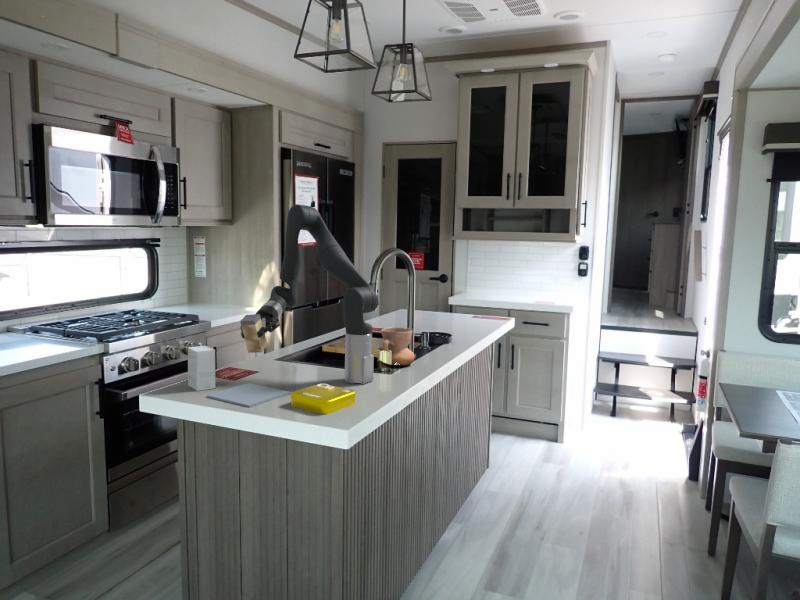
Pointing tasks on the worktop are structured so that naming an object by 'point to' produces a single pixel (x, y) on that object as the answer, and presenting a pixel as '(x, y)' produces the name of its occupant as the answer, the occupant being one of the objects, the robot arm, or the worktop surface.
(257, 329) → the wood block
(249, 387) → the grey mat
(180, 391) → the worktop surface
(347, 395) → the element tile
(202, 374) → the small box
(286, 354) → the worktop surface
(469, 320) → the worktop surface
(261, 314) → the robot arm
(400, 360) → the ceramic jug
